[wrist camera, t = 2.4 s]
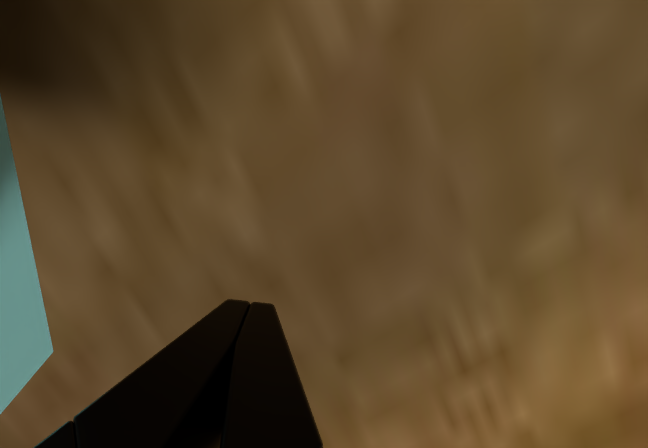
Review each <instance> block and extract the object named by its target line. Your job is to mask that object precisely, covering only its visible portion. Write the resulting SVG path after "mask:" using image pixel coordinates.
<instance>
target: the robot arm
mask: <svg viewBox="0 0 648 448" xmlns="http://www.w3.org/2000/svg"><path fill="white" fill-rule="evenodd" d="M73 422H74V423H73ZM34 448H323V443H322V440H321V437H320V434H319V432H318V429H317V426H316V423H315V420H314V417H313V415H312V412H311V409H310V406H309V403H308V400H307V397H306V395H305V392H304V389H303V386H302V383H301V380H300V377H299V375H298V372H297V369H296V366H295V363H294V360H293V358H292V355H291V352H290V349H289V346H288V343H287V340H286V338H285V335H284V332H283V329H282V326H281V323H280V320H279V318H278V315H277V312H276V309H275V307H274V305H273V304H269V303H260V302H253V303H251V304H250V303H249V302H248V301H242V300H234V299H228V300H226V301H224V302H223V303H222V304H221V305H219V306H218V307H217V308H215V309H214V310H213V311H211V312H210V313H209V314H208V315H206V316H205V317H204V318H202V319H201V320H200V321H198V322H197V323H196V324H195V325H193V326H192V327H191V328H189V329H188V330H187V331H185V332H184V333H183V334H182V335H180V336H179V337H178V338H176V339H175V340H174V341H172V342H171V343H170V344H168V345H167V346H166V347H165V348H163V349H162V350H161V351H159V352H158V353H157V354H155V355H154V356H153V357H152V358H150V359H149V360H148V361H146V362H145V363H144V364H142V365H141V366H140V367H139V368H137V369H136V370H135V371H133V372H132V373H131V374H129V375H128V376H127V377H126V378H124V379H123V380H122V381H120V382H119V383H118V384H116V385H115V386H114V387H112V388H111V389H110V390H109V391H107V392H106V393H105V394H103V395H102V396H101V397H99V398H98V399H97V400H96V401H94V402H93V403H92V404H90V405H89V406H88V407H86V408H85V409H84V410H83V411H81V412H80V413H79V414H77V415H76V416H75V417H74V419H73V421H68V422H67V423H65V424H64V425H63V426H61V427H60V428H59V429H57V430H56V431H55V432H54V433H52V434H51V435H50V436H48V437H47V438H46V439H44V440H43V441H42V442H40V443H39V444H38V445H36V446H35V447H34Z"/></svg>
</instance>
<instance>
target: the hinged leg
mask: <svg viewBox="0 0 648 448" xmlns="http://www.w3.org/2000/svg"><path fill="white" fill-rule="evenodd" d="M52 353H53V347H52V342H51V338H50V333H49V328H48V323H47V318H46V313H45V309H44V304H43V299H42V294H41V289H40V284H39V279H38V275H37V270H36V265H35V260H34V255H33V250H32V246H31V241H30V236H29V231H28V226H27V221H26V216H25V212H24V207H23V202H22V197H21V192H20V187H19V183H18V178H17V173H16V168H15V163H14V158H13V153H12V149H11V144H10V139H9V134H8V129H7V124H6V120H5V115H4V110H3V105H2V100H1V95H0V414H1V413H2V412H3V410H4V409H5V408H6V407H7V406H8V405H9V403H10V402H11V401H12V400H13V399H14V397H15V396H16V395H17V394H18V393H19V392H20V390H21V389H22V388H23V387H24V386H25V384H26V383H27V382H28V381H29V380H30V379H31V377H32V376H33V375H34V374H35V373H36V371H37V370H38V369H39V368H40V367H41V366H42V364H43V363H44V362H45V361H46V360H47V358H48V357H49V356H50V355H51V354H52Z"/></svg>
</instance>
